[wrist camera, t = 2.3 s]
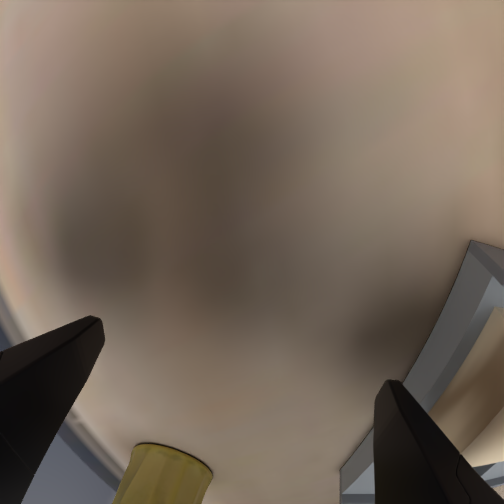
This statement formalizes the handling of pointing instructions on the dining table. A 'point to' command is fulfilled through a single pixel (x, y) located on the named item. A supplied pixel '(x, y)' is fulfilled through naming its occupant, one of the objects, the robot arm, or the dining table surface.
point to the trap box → (441, 360)
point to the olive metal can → (162, 477)
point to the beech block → (477, 398)
